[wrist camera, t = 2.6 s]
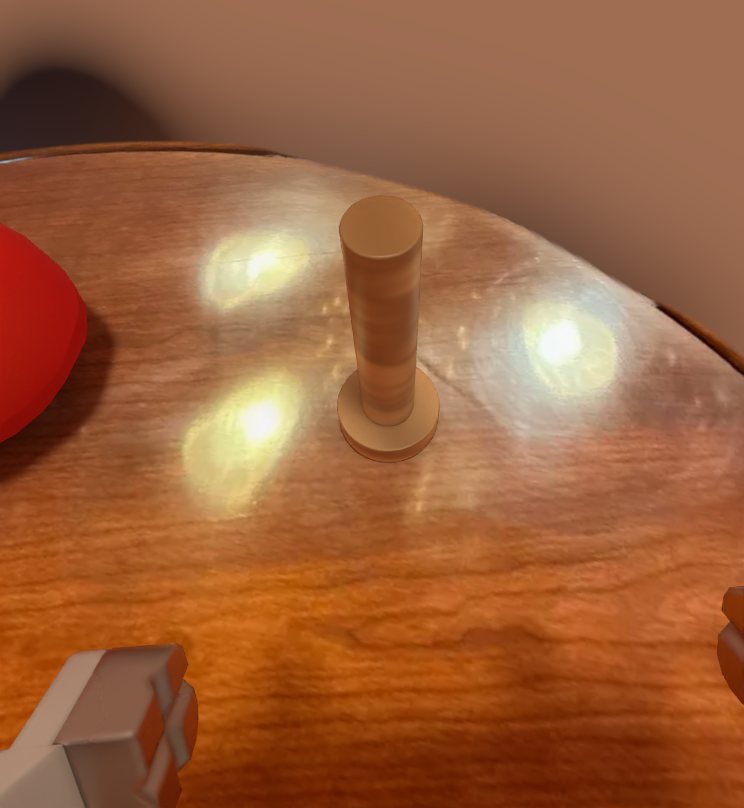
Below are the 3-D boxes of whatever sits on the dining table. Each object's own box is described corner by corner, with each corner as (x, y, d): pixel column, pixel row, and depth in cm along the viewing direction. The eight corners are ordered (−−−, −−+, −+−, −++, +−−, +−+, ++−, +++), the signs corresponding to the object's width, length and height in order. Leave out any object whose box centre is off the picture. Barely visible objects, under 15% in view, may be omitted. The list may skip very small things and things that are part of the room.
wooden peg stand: (392, 357, 31) (387, 142, 19) (458, 419, 29) (501, 227, 17) (320, 413, 30) (263, 223, 17) (384, 482, 28) (373, 324, 16)
